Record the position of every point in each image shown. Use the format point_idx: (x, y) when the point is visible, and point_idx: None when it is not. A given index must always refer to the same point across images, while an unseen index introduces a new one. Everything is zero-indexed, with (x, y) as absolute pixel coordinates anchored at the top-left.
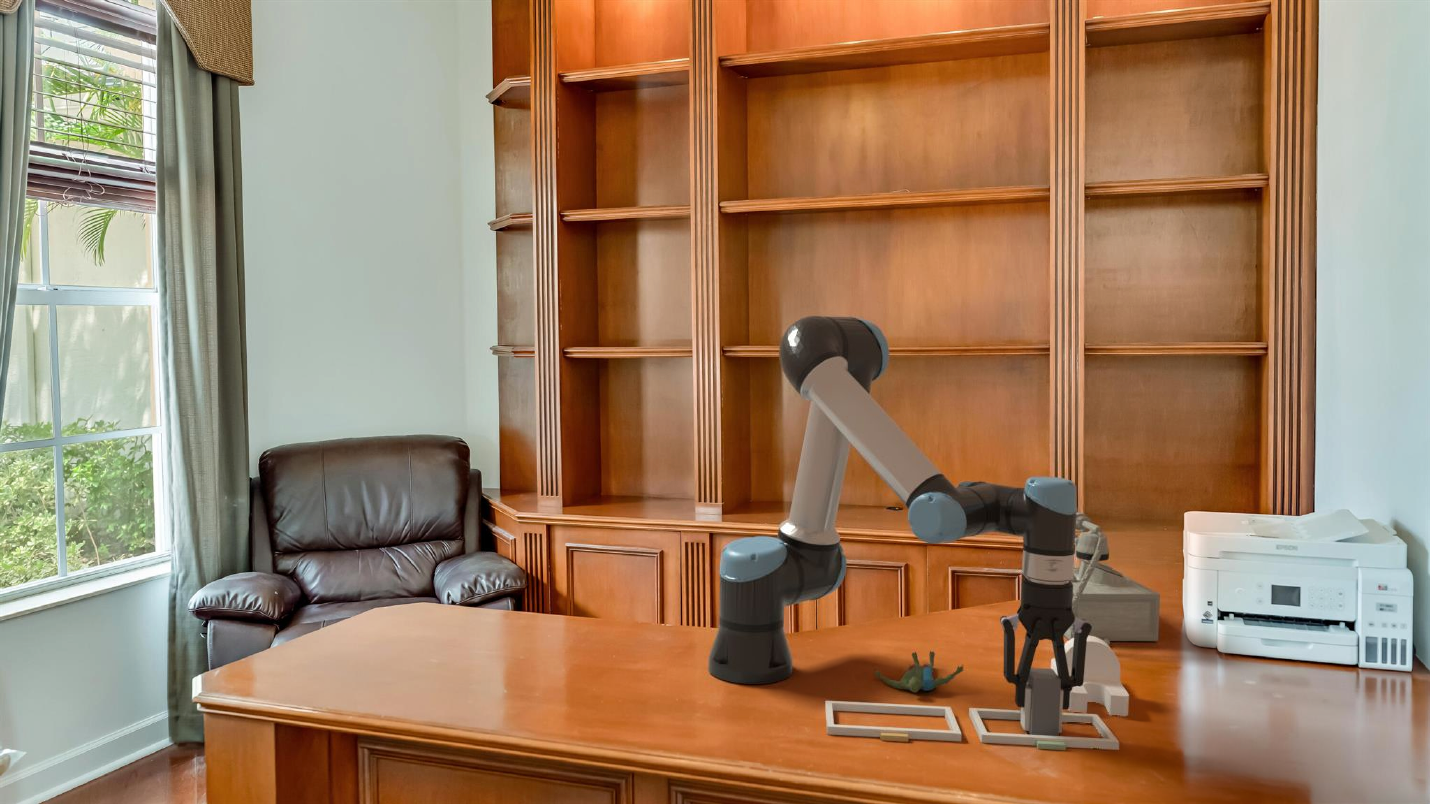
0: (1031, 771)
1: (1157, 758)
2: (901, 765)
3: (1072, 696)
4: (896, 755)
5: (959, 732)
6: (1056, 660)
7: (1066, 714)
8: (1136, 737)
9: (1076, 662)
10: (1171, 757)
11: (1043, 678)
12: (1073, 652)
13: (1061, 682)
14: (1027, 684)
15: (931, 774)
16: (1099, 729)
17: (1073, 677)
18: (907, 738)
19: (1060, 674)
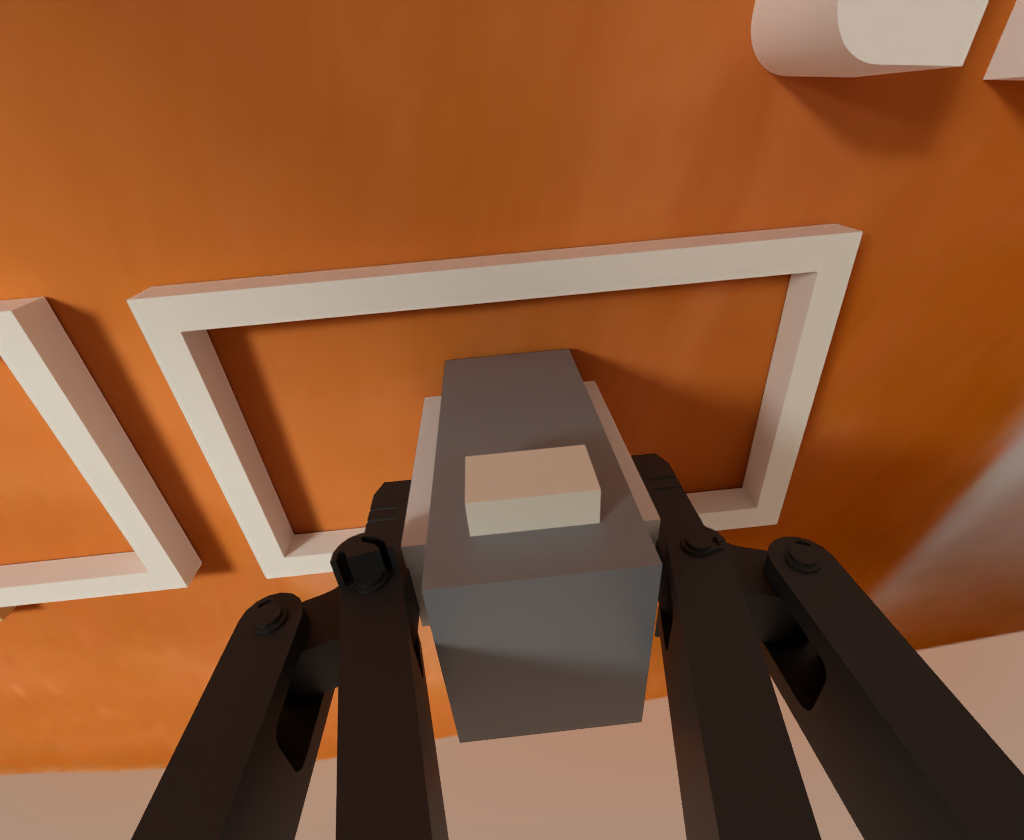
0: (440, 670)
1: (856, 530)
2: (84, 715)
3: (832, 58)
4: (38, 678)
5: (177, 581)
6: (694, 760)
7: (682, 276)
8: (908, 377)
9: (847, 799)
10: (910, 514)
11: (526, 730)
12: (944, 818)
13: (668, 595)
14: None
15: (182, 731)
16: (777, 380)
17: (768, 627)
18: (6, 614)
19: (670, 685)
